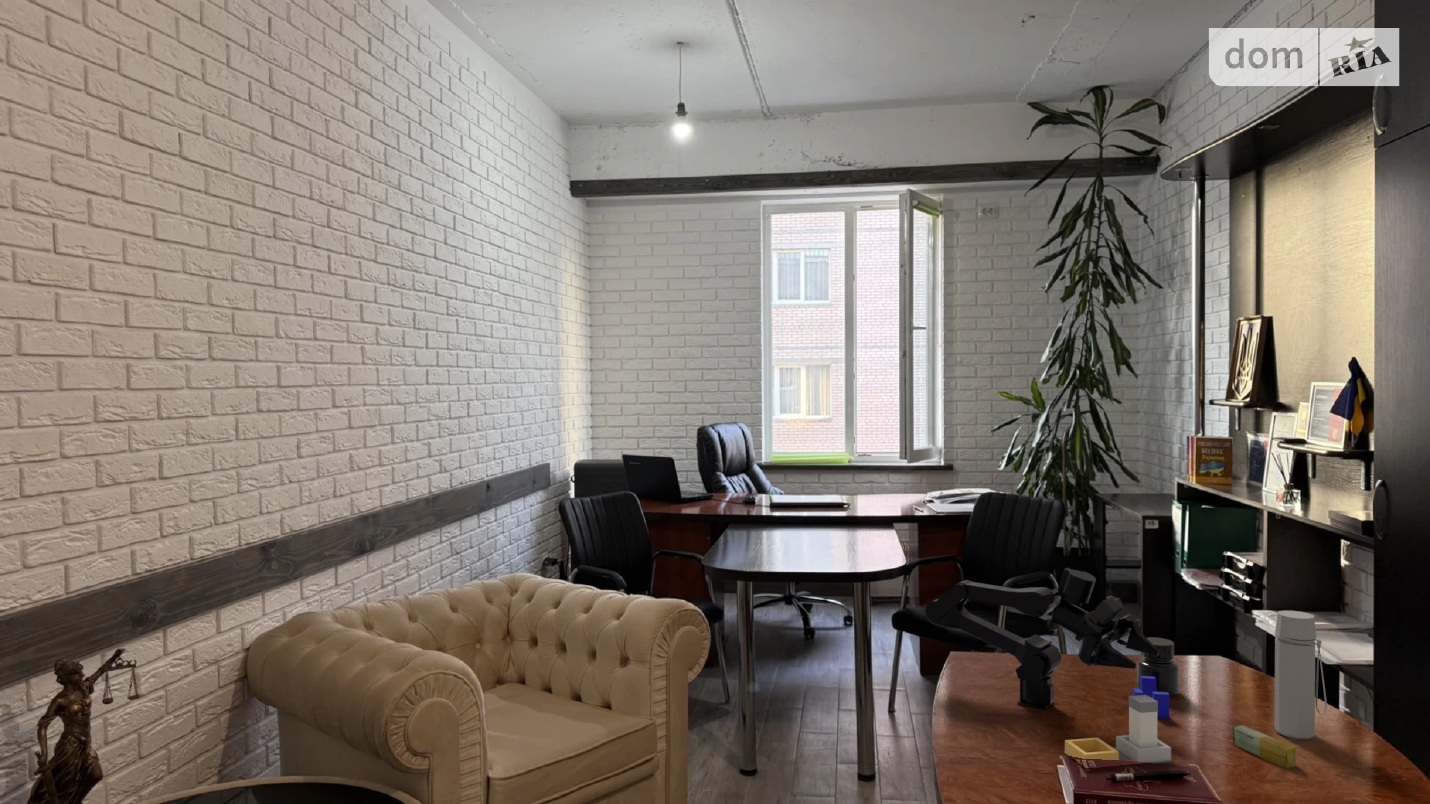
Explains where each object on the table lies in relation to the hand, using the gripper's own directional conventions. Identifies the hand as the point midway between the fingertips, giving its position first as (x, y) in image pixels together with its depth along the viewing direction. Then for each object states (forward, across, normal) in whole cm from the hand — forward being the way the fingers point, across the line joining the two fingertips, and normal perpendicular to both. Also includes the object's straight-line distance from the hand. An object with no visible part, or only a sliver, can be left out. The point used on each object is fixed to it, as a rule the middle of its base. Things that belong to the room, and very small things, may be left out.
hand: (1147, 659), depth 188 cm
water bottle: (+24, +23, +12) cm, 35 cm away
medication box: (+23, +6, +10) cm, 26 cm away
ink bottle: (-5, +25, +21) cm, 33 cm away
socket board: (+7, -18, +12) cm, 23 cm away
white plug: (+9, -13, +12) cm, 20 cm away
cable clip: (-1, +12, +19) cm, 22 cm away
